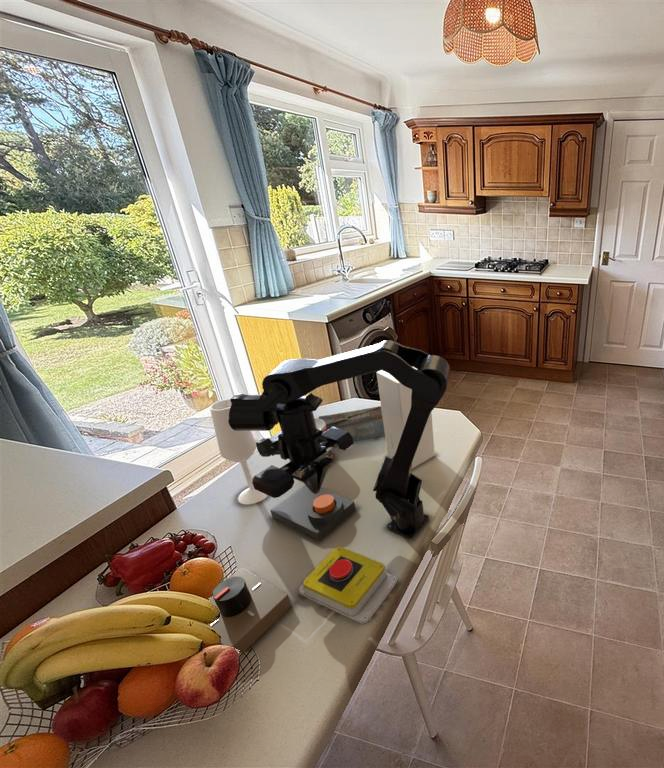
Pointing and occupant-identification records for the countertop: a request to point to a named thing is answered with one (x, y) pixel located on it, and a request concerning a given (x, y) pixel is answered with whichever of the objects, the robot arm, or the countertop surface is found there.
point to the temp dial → (232, 596)
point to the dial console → (252, 613)
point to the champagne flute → (235, 447)
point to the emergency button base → (311, 512)
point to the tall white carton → (401, 417)
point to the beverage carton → (358, 423)
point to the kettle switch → (324, 504)
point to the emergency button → (349, 584)
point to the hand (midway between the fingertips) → (315, 492)
